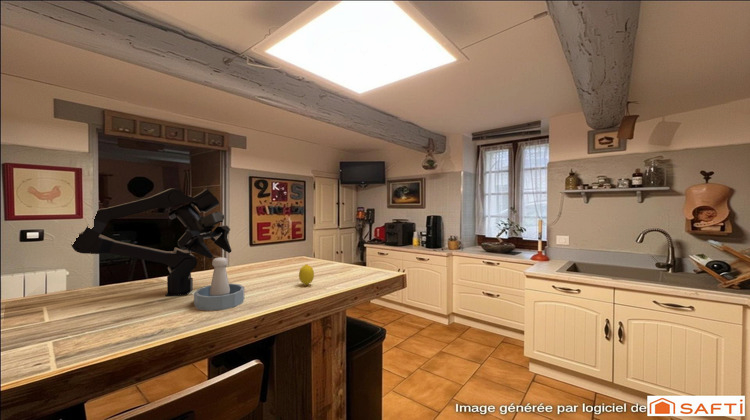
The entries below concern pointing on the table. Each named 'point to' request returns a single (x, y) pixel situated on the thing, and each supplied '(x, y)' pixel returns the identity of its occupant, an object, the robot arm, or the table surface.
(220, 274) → the salt shaker
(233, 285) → the bowl
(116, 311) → the table surface
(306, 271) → the lemon
